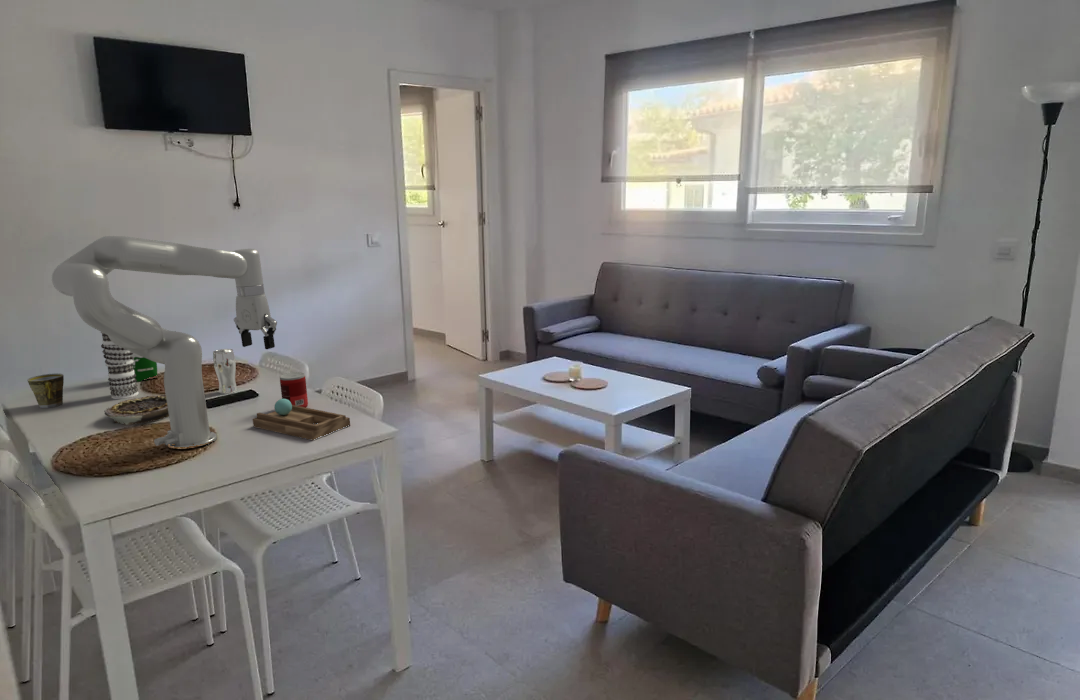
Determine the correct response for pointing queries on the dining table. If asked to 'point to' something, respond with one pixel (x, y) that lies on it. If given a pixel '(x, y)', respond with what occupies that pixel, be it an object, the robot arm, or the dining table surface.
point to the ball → (283, 406)
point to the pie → (139, 410)
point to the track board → (302, 422)
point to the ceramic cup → (47, 389)
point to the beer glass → (225, 370)
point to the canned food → (294, 388)
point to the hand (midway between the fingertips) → (258, 347)
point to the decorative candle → (119, 369)
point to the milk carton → (143, 367)
